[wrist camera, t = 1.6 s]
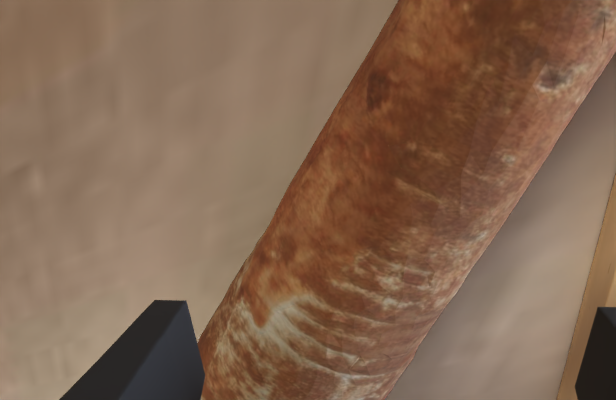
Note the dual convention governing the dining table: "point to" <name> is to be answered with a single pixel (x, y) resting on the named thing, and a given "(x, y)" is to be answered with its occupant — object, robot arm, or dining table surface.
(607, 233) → the board
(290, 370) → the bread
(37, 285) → the dining table surface
